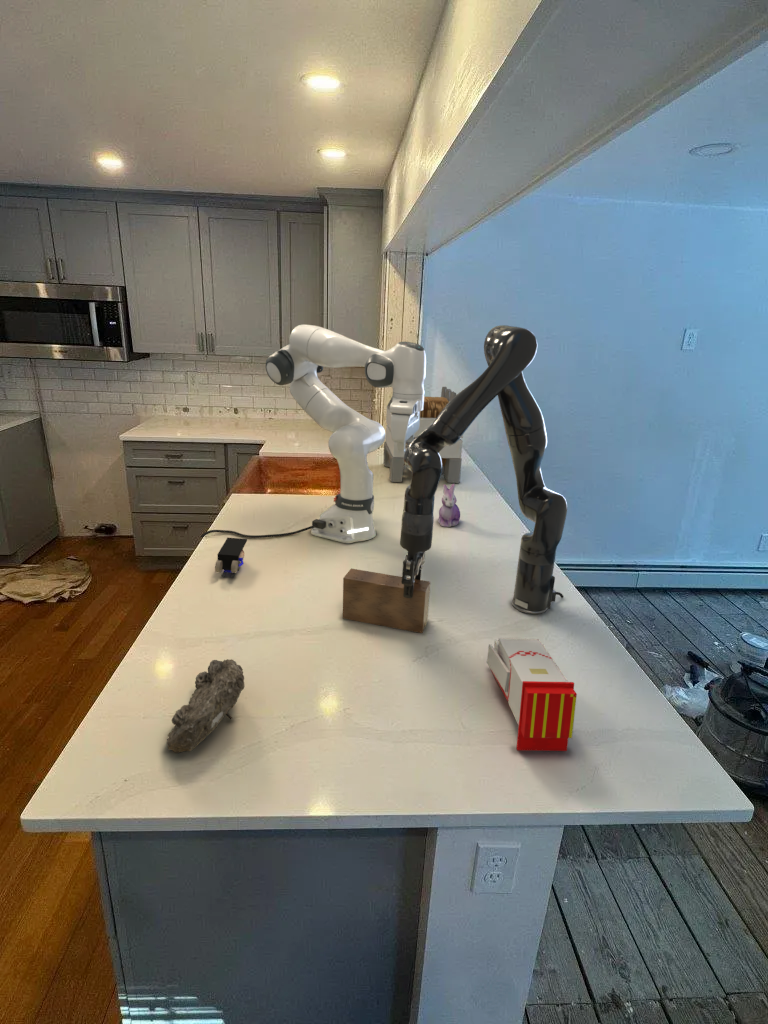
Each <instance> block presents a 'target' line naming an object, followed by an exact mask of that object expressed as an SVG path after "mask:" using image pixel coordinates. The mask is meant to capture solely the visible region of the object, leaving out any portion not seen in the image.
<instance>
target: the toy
mask: <svg viewBox="0 0 768 1024" xmlns="http://www.w3.org/2000/svg"><path fill="white" fill-rule="evenodd" d="M486 664H487V666H488V667H489V668H490V671H491V672H492V675H493V676H494V679H495V680H496V683H497V684H498V686H499V688H500V690H501V692H502V694H503V695H504V697H505V699H506V701H507V704H508V706H509V708H510V711H511V712H512V715H513V717H514V719H515V722H516V724H517V726H518V728H517V729H518V730H517V741H516V751H535V752H536V751H541V752H544V751H545V752H546V751H547V752H548V751H549V752H550V751H551V752H552V751H553V752H567V751H568V743H569V739H573V731H574V722H575V714H576V706H577V705H576V704H577V697H578V696H577V695H578V694H577V692H576V690H575V682H574V681H569V680H568V679H567V677H566V676H565V675H564V673H563V672H562V670H561V669H560V668H559V666H558V665H557V663H556V662H555V660H554V659H553V657H552V656H551V655H550V653H549V651H547V649H546V646H545V644H543V643H542V641H541V640H540V639H539V638H513V637H512V638H511V637H509V638H508V637H507V638H506V637H498V639H494V645H493V644H488V650H487V657H486Z"/></svg>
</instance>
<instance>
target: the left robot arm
mask: <svg viewBox="0 0 768 1024" xmlns="http://www.w3.org/2000/svg"><path fill="white" fill-rule="evenodd" d="M288 339H289V340H288V342H289V343H288V344H287V345H285V346H283V347H282V348H280V349H278V350H276V351H274V352H273V353H271V354H270V355H269V356H268V357H267V359H266V360H265V372H266V374H267V377H269V379H270V380H271V381H272V382H273V383H274V384H276V385H277V386H286V385H289V392H290V395H291V396H292V398H293V400H295V402H296V403H297V405H298V406H299V407H300V408H301V409H302V410H303V411H304V412H305V413H306V415H308V416H309V417H310V418H311V419H312V420H313V421H314V422H315V423H316V424H317V425H318V426H319V427H320V428H322V429H323V430H325V431H329V432H331V435H330V436H329V437H328V444H327V445H328V450H329V452H330V454H331V455H332V456H333V457H334V458H335V459H336V462H337V465H338V468H339V476H340V480H339V481H340V488H339V489H340V490H339V491H338V492H337V494H336V495H335V496H334V497H333V502H334V504H333V505H331V506H329V507H328V508H326V509H325V510H323V512H321V514H320V515H319V517H318V518H315V519H313V520H312V522H311V524H312V525H310V526H307V527H304V528H302V529H298V530H295V531H290V532H285V533H273V534H260V535H259V534H258V535H253V534H245V533H244V534H243V533H240V532H237V531H234V530H229V529H228V530H227V529H210V530H207V531H205V532H204V533H203V534H202V535H200V538H204V537H206V536H207V535H208V534H213V533H222V534H233V535H236V536H239V537H241V538H245V539H264V538H265V539H266V538H277V537H278V538H279V537H288V536H293V535H296V534H300V533H303V532H306V531H309V530H310V533H311V536H315V537H319V538H323V539H326V540H330V541H336V542H339V543H343V544H352V543H357V542H365V541H368V540H372V539H373V538H375V537H376V535H377V532H376V528H375V523H374V513H373V512H374V509H375V496H374V473H373V471H372V470H371V469H370V468H369V467H370V466H369V464H368V459H367V458H368V454H371V453H373V452H375V451H377V450H378V449H379V448H380V447H381V446H382V445H384V442H386V441H385V438H386V429H385V428H384V426H383V425H382V424H381V423H380V422H378V421H376V420H373V419H371V418H368V417H366V416H365V415H363V414H361V413H360V412H358V411H357V410H355V409H353V408H352V407H350V406H349V405H347V404H346V403H345V402H344V401H342V399H340V398H339V397H338V396H337V395H336V394H335V393H334V392H333V391H332V390H331V389H330V388H329V387H328V386H327V385H325V384H324V383H323V382H322V381H321V380H320V378H319V376H318V374H319V373H322V372H323V370H324V368H330V369H336V368H338V369H339V368H350V367H351V368H352V367H363V368H364V375H365V378H366V381H367V382H368V383H369V385H370V386H372V387H374V388H379V389H383V388H384V389H385V388H392V395H391V398H392V402H391V405H390V410H389V412H390V413H392V415H391V437H392V441H393V442H397V447H398V455H399V456H404V454H405V447H406V448H408V446H409V445H410V443H411V442H412V441H413V439H414V433H415V432H417V431H418V429H419V423H420V411H423V408H424V397H425V385H424V384H425V380H426V376H427V355H426V351H425V348H424V347H423V346H422V345H420V344H419V343H417V342H410V341H398V342H397V343H396V344H395V345H394V346H392V347H390V348H388V349H381V348H378V347H375V346H371V345H368V344H364V343H361V342H359V341H357V340H354V339H352V338H350V337H348V336H345V335H343V334H340V333H338V332H336V331H333V330H330V329H328V328H325V327H323V326H320V325H314V324H313V325H312V324H299V325H296V326H295V327H294V328H292V330H291V332H290V335H289V338H288ZM405 442H406V446H405Z"/></svg>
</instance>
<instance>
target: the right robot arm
mask: <svg viewBox="0 0 768 1024" xmlns="http://www.w3.org/2000/svg"><path fill="white" fill-rule="evenodd" d="M537 351H538V340H537V337H536V335H535V333H533V332H532V331H531V330H529V329H528V328H524V327H520V326H515V325H507V324H500V325H496V326H494V327H492V328H491V329H490V330H489V331H488V333H487V334H486V336H485V338H484V343H483V353H484V358H485V361H486V364H487V366H488V367H487V368H486V369H485V370H483V372H482V373H481V374H480V375H479V376H478V377H477V378H476V379H475V380H474V381H472V382H471V383H470V384H468V386H466V387H464V388H463V389H462V390H460V391H459V392H458V393H456V396H455V397H454V398H453V399H452V400H451V401H450V402H449V403H448V404H447V405H446V406H445V407H444V409H443V410H442V411H441V413H440V414H439V415H438V416H437V418H436V419H435V420H434V422H433V423H432V424H431V425H430V426H429V427H428V428H427V429H425V430H424V431H423V432H422V433H421V434H420V435H419V436H417V437H416V438H415V439H414V440H413V441H412V442H411V443H410V445H409V446H408V448H407V449H406V451H405V454H404V463H405V465H404V466H405V467H406V468H407V470H408V471H410V472H411V481H410V484H409V485H408V486H407V487H406V488H405V491H404V499H403V512H402V516H401V525H400V538H399V539H400V540H399V545H400V547H401V548H402V549H403V550H405V551H406V552H407V554H405V555H404V559H403V561H402V573H401V574H402V575H401V577H402V581H401V582H402V584H404V593H403V596H404V597H405V598H410V599H411V598H412V597H413V589H414V583H415V579H418V580H422V570H423V568H424V564H425V562H426V561H425V559H426V552H427V551H429V550H430V549H431V548H432V544H433V534H434V533H433V532H434V523H435V521H434V520H435V519H434V518H435V517H434V509H435V499H436V498H435V497H436V496H435V495H436V492H437V490H438V487H439V482H440V480H441V478H442V474H441V473H442V459H441V456H440V455H439V452H440V451H441V450H442V449H443V448H444V447H446V446H452V445H454V444H455V443H456V442H457V441H458V440H459V439H461V438H460V437H461V436H462V435H463V436H464V434H465V433H466V431H467V430H468V429H469V428H470V426H471V425H472V424H473V422H474V421H475V420H476V419H477V418H478V416H479V415H480V414H481V413H482V412H483V411H484V409H486V407H487V406H488V405H489V404H490V403H491V402H492V401H493V400H494V399H495V398H496V397H497V400H498V403H499V408H500V413H501V416H502V421H503V426H504V431H505V435H506V441H507V444H508V447H509V448H508V449H509V452H510V456H511V460H512V461H511V462H512V465H513V466H512V467H513V469H514V474H515V480H516V490H517V499H518V506H519V509H520V512H521V514H522V515H523V516H524V517H525V518H526V519H528V520H529V521H531V522H533V523H534V526H533V527H534V528H533V530H532V531H531V532H526V533H524V534H523V535H522V536H521V539H520V545H519V552H518V558H517V559H518V561H517V568H516V573H515V581H514V590H513V595H512V596H513V597H512V601H511V604H512V606H513V608H514V609H516V610H517V611H519V612H521V613H525V614H529V615H530V614H531V615H539V614H540V615H541V614H544V613H546V612H547V611H548V610H550V609H551V606H552V603H553V602H556V598H557V596H559V597H560V598H561V599H564V598H565V597H564V595H563V593H562V592H560V591H556V590H554V586H555V582H556V577H555V575H554V568H555V561H556V556H557V555H556V554H557V548H558V546H559V544H560V542H561V539H562V538H563V534H564V528H565V525H566V520H567V516H568V515H567V514H568V503H567V499H566V497H564V495H562V494H560V493H558V492H556V491H554V490H552V489H549V488H547V486H546V484H545V482H544V478H543V473H542V462H543V458H544V456H545V453H546V451H547V447H548V434H547V430H546V424H545V419H544V416H543V413H542V410H541V408H540V407H539V405H538V403H537V401H536V399H535V398H534V396H533V394H532V392H531V391H530V389H529V387H528V385H527V382H526V379H525V377H524V373H523V372H524V370H525V369H527V367H528V366H530V364H531V363H532V362H533V360H534V359H535V357H536V354H537ZM408 577H409V578H410V579H407V578H408Z"/></svg>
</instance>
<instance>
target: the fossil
mask: <svg viewBox="0 0 768 1024" xmlns="http://www.w3.org/2000/svg"><path fill="white" fill-rule="evenodd" d="M243 670H244V669H243V667H242V665H240V664H237V662H236V661H235V660H234V659H232V658H231V659H227V658H226V659H224V660H223V661H222V660H217V659H212V660H211V661H210V663H209V665H208V666H207V671H201V672H199V673H198V674H197V675H196V676H195V680H194V684H195V685H194V687H195V689H194V690H193V693H192V694H191V697H190V698H189V700H188V704H184V705H182V706H181V707H180V709H177V710H176V711H175V713H174V715H173V716H172V718H171V723H172V724H173V727H172V730H171V731H170V732H168V734H167V738H166V741H167V742H166V745H167V749H168V750H169V751H173V752H174V753H176V754H178V753H182V752H188V751H189V752H192V751H193V750H195V748H196V747H197V746H199V744H200V743H201V742H203V741H204V740H205V739H206V738H207V737H208V736H209V735H210V734H211V733H212V732H214V730H215V729H217V727H218V726H219V724H220V722H221V721H222V720H223V719H224V718H225V716H226V717H227V719H229V720H233V717H232V715H230V714H229V710H230V709H231V708H234V706H235V704H236V703H237V702H238V699H239V697H240V695H241V693H242V691H243V690H245V689H244V688H245V675H244V671H243Z"/></svg>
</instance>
